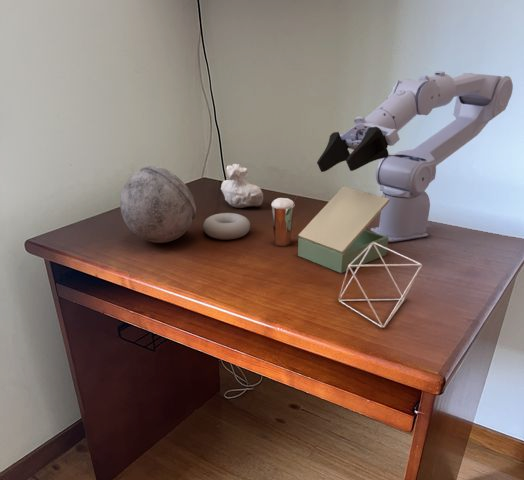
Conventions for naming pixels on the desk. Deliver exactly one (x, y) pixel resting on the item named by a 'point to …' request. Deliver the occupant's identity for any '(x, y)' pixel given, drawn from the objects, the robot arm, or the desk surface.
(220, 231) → the donut
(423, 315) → the desk surface
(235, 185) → the white lumpy piece
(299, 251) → the lunchbox
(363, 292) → the geometric polyhedron
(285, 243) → the milkshake
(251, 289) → the desk surface
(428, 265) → the desk surface
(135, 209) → the decorative orb
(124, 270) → the desk surface
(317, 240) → the lunchbox lid
